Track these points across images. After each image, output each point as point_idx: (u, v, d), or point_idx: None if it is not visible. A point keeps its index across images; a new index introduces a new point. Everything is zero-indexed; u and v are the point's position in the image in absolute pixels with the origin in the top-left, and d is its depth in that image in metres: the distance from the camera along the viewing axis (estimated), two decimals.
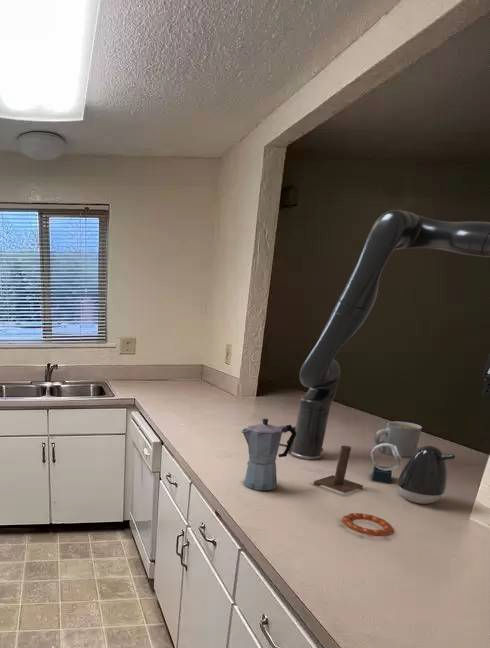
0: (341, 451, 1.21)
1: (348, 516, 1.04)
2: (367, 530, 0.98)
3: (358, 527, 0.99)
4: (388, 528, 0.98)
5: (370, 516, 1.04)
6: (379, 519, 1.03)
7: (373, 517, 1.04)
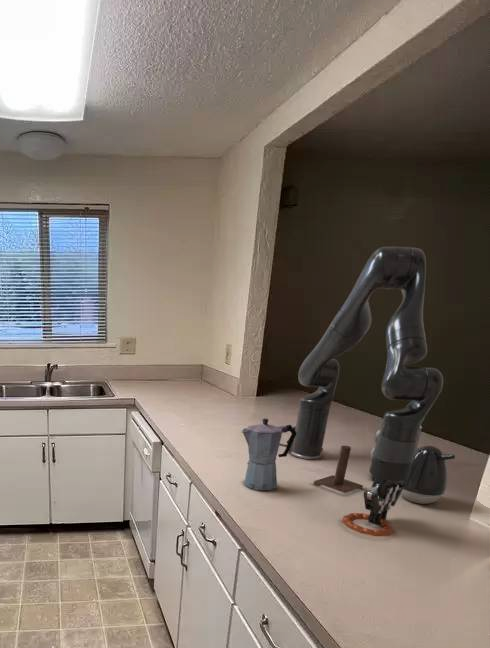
0: (341, 451, 1.21)
1: (348, 516, 1.04)
2: (367, 529, 0.98)
3: (358, 527, 0.99)
4: (388, 528, 0.98)
5: None
6: None
7: None
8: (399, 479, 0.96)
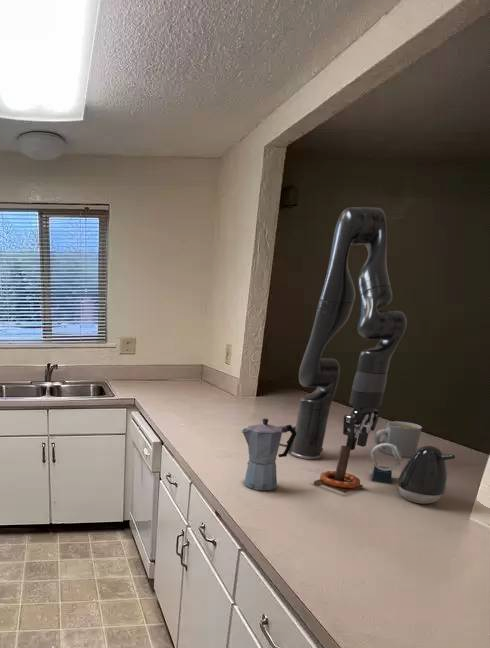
0: (341, 451, 1.21)
1: (325, 473, 1.27)
2: (339, 481, 1.21)
3: (332, 480, 1.22)
4: (356, 481, 1.22)
5: None
6: (350, 475, 1.26)
7: (345, 474, 1.27)
8: (373, 406, 1.16)
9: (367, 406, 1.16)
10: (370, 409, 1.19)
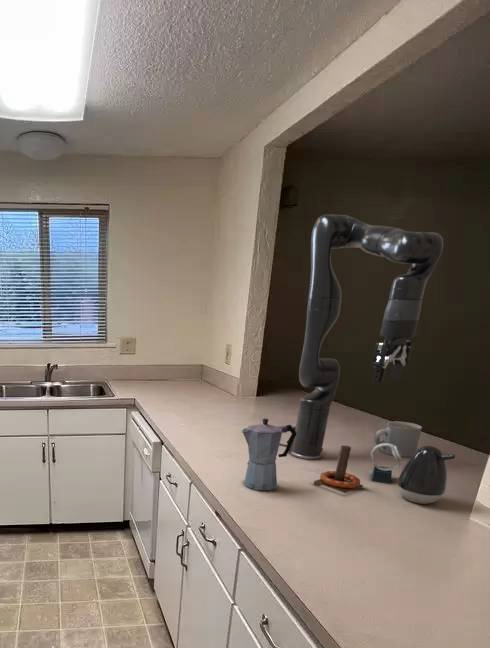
0: (341, 451, 1.21)
1: (325, 473, 1.27)
2: (339, 481, 1.21)
3: (332, 480, 1.22)
4: (356, 481, 1.22)
5: None
6: (350, 475, 1.26)
7: (345, 474, 1.27)
8: (406, 335, 1.10)
9: (400, 336, 1.10)
10: (402, 341, 1.14)
